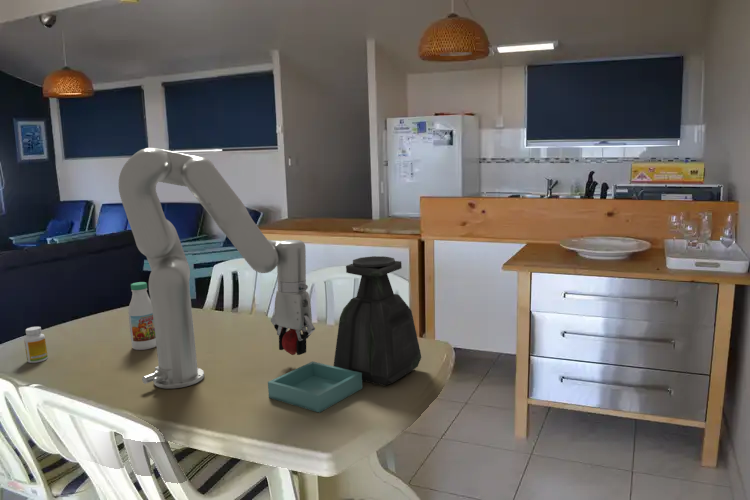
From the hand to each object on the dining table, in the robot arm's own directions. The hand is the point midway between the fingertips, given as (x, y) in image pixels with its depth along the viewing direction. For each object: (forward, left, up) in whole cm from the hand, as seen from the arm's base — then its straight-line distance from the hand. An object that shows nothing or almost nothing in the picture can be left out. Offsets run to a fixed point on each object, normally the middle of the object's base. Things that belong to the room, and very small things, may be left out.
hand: (292, 350), depth 168 cm
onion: (0, 0, -1) cm, 1 cm away
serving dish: (-11, -18, -4) cm, 21 cm away
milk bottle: (-11, +52, -5) cm, 54 cm away
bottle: (+7, -23, -5) cm, 25 cm away
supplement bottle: (-35, +70, -5) cm, 78 cm away
